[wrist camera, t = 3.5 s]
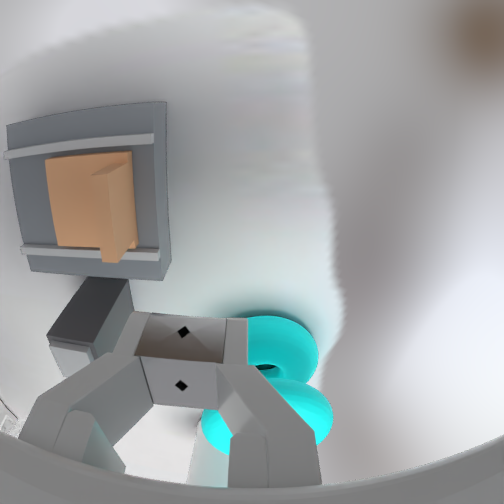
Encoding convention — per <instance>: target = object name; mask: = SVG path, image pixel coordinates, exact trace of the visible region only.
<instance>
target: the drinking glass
mask: <svg viewBox="0 0 504 504" xmlns="http://www.w3.org/2000/svg"><path fill="white" fill-rule="evenodd" d="M228 467H229V455H227V454H225V453H223V452H221V451H219V450H217V449H216V448H215V447H213V446H212V445H211V444H210V443H209V442H208V440H207V439H206V437H205V436H204V434H203V431H202V427H201V420H200V421H199V422H198V424H197V431H196V438H195V443H194V448H193V453H192V457H191V462H190V467H189V471H188V476H187V480H186V484H190V485H200V486H212V487H227V484H228Z"/></svg>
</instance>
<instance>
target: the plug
mask: <svg viewBox="0 0 504 504" xmlns="http://www.w3.org/2000/svg"><path fill="white" fill-rule="evenodd" d="M132 312H134V307H133V302H132V297H131V292H130V286H129V281H128V279H114V278H100V277H87V279H86V280H85V281H84V283H83V284H82V285H81V287H80V288H79V289H78V291H77V292H76V293H75V295H74V296H73V297H72V299H71V300H70V302H69V303H68V304H67V306H66V307H65V309H64V310H63V311H62V313H61V314H60V316H59V317H58V319H57V320H56V321H55V323H54V324H53V326H52V327H51V329H50V330H49V332H48V333H47V335H46V336H47V338H48V340H49V343H50V345H49V347H50V350H51V352H52V354H53V356H54V358H55V360H56V362H57V365H58V367H59V369H60V371H61V373H62V375H63V377H70V376H71V375H73V374H74V373H76V372H77V371H79V370H81V369H82V368H84V367H85V366H87V365H88V364H90V363H91V362H93V361H94V360H96V359H98V358H99V357H101V356H102V355H104V354H105V353H107V352H109V353H113V350H114V348H115V346H116V344H117V342H118V339H119V337H120V335H121V333H122V331H123V329H124V327H125V324H126V322H127V320H128V318H129V316H130V314H131V313H132Z"/></svg>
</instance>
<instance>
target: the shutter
mask: <svg viewBox="0 0 504 504" xmlns="http://www.w3.org/2000/svg"><path fill="white" fill-rule="evenodd" d="M45 167H46V176H47V184H48V192H49V198H50V205H51V211H52V217H53V222H54V228H55V233H56V238H57V243H58V246H73V247H100V252H101V257H102V262H109V263H118V262H119V261H120V259H121V258H122V257H123V255H124V254H125V252H126V251H127V250H128V248H129V249H135V248H136V247H137V245H138V244H139V240H138V231H137V221H136V210H135V198H134V184H133V166H132V150H131V151H114V152H100V153H88V154H77V155H67V156H58V157H51V158H48V159H46V160H45Z"/></svg>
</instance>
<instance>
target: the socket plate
mask: <svg viewBox="0 0 504 504" xmlns="http://www.w3.org/2000/svg"><path fill="white" fill-rule="evenodd" d="M6 127H7V143H8V150H7V151H5V152H3V155H4V160H6V159H9V164H10V172H11V180H12V187H13V193H14V199H15V205H16V210H17V215H18V220H19V225H20V230H21V234H22V238H23V242H24V244H23V245H22V246H21V247H20V250H21V253H22V254H27V258H28V262H29V265H30V269H31V271H33V272H44V273H56V274H68V275H81V276H94V277H108V278H123V279H139V280H157V281H163V279H164V277H165V274H166V272H167V270H168V267H169V265H170V263H171V248H170V234H169V218H168V197H167V168H166V102H147V103H134V104H124V105H114V106H106V107H98V108H91V109H84V110H78V111H71V112H66V113H60V114H55V115H50V116H45V117H40V118H35V119H31V120H26V121H22V122H18V123H14V124H10V125H6ZM131 150H132V166H133V184H134V198H135V210H136V221H137V231H138V240H139V244H138V245H137V247H136V248H135V249H129V248H128V250H127V251H126V252H125V254H124V255H123V257H122V258H121V259H120V261H119V262H118V263H109V262H102V257H101V252H100V247H73V246H58V243H57V238H56V233H55V228H54V222H53V217H52V211H51V205H50V198H49V192H48V184H47V176H46V167H45V160H46V159H48V158H51V157H58V156H67V155H77V154H88V153H100V152H114V151H131Z"/></svg>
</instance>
